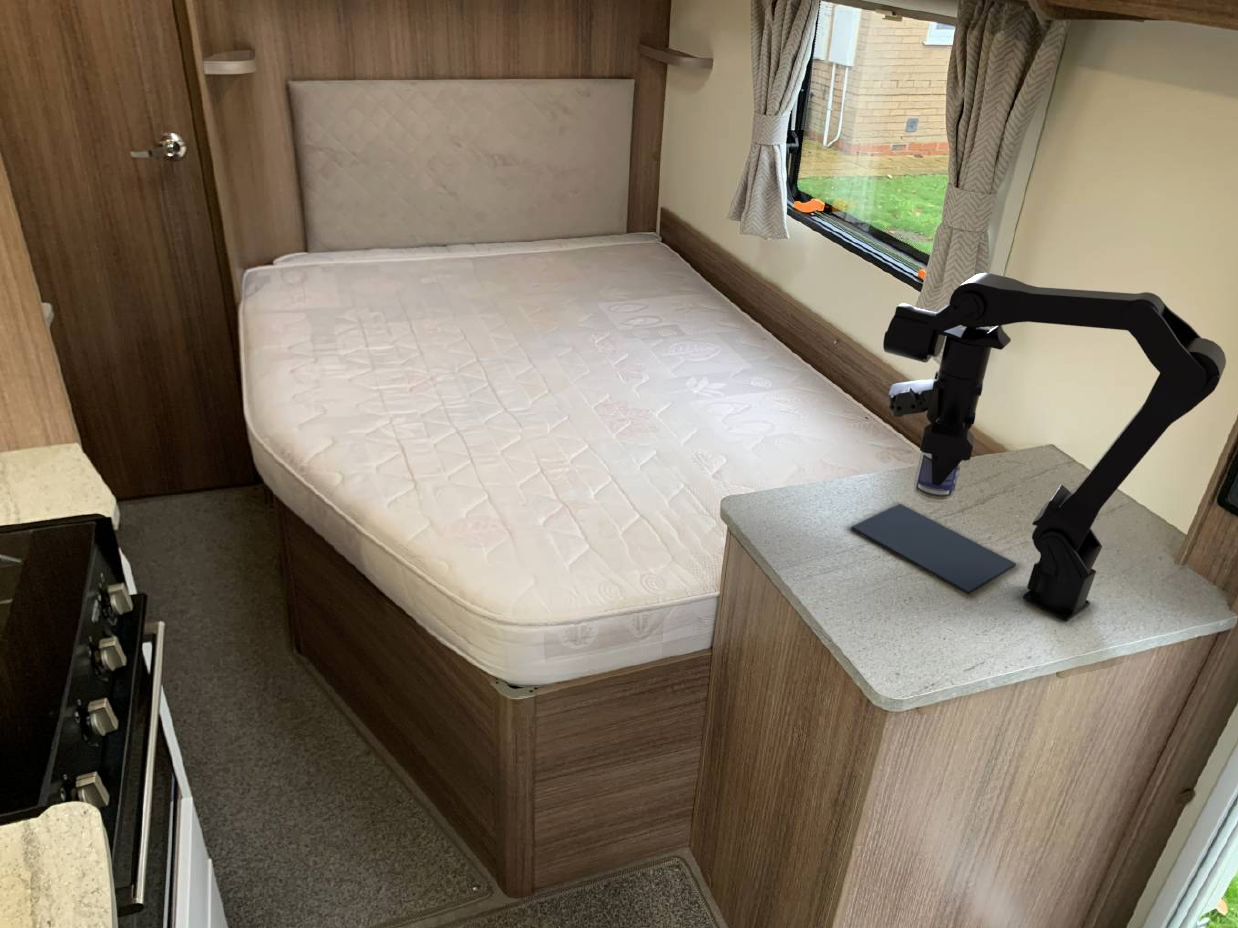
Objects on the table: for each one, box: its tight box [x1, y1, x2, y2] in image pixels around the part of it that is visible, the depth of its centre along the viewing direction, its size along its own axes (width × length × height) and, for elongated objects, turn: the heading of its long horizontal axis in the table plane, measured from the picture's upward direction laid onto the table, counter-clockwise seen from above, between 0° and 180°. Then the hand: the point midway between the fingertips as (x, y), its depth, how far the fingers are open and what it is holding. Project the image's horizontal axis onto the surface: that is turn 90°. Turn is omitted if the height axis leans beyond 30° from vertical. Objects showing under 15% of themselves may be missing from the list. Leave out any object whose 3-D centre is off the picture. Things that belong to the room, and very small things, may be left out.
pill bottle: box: [913, 451, 963, 504], centre depth 131 cm, size 5×5×10 cm
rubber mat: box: [851, 503, 1017, 595], centre depth 139 cm, size 20×12×1 cm, turn 39°
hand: (937, 475), depth 132 cm, fingers closed on pill bottle, 5 cm apart
